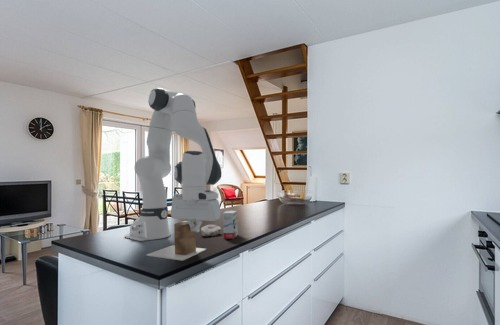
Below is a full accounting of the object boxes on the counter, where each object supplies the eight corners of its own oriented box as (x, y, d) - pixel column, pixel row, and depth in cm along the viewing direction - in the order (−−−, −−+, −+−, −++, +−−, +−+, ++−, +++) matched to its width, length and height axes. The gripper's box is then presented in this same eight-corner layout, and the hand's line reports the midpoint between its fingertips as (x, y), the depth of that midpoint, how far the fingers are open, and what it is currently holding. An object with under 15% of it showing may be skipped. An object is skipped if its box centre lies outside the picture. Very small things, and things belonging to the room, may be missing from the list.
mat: (146, 255, 101) (146, 254, 101) (172, 246, 114) (172, 245, 114) (182, 260, 94) (182, 259, 94) (206, 249, 107) (206, 248, 107)
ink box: (233, 239, 122) (232, 212, 123) (223, 239, 123) (222, 212, 124) (238, 234, 131) (237, 210, 131) (228, 234, 132) (227, 210, 132)
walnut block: (174, 254, 101) (174, 223, 101) (185, 249, 106) (184, 220, 107) (185, 255, 99) (185, 224, 99) (195, 251, 104) (195, 221, 104)
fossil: (225, 228, 134) (209, 223, 127) (220, 241, 132) (205, 237, 125) (214, 224, 140) (199, 219, 133) (209, 237, 138) (194, 232, 132)
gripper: (166, 194, 103) (167, 231, 102) (212, 195, 94) (213, 235, 93) (178, 193, 108) (178, 228, 108) (222, 193, 99) (223, 232, 99)
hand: (195, 231), depth 100 cm, fingers closed
